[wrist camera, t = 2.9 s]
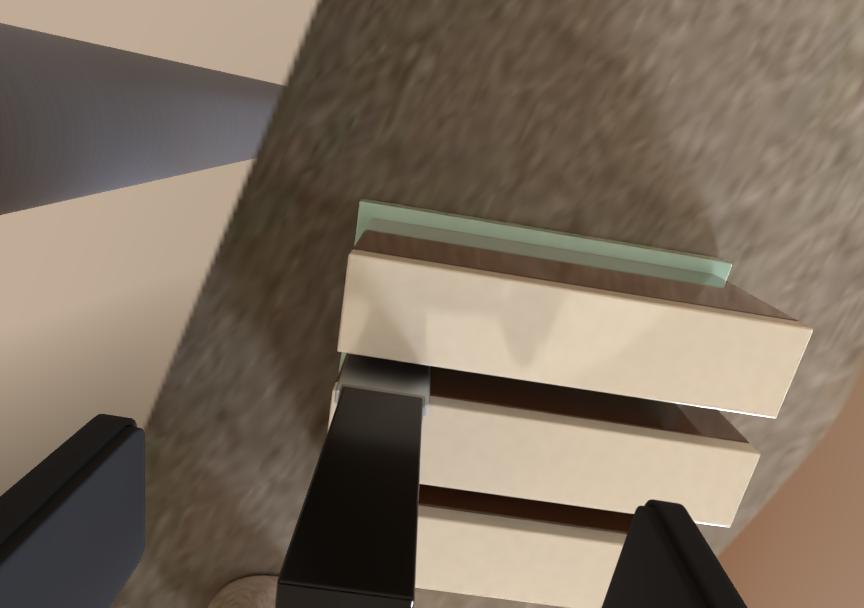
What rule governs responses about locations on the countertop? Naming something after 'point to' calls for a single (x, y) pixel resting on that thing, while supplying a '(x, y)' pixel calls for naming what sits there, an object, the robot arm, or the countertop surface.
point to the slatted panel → (560, 390)
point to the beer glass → (247, 593)
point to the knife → (362, 494)
